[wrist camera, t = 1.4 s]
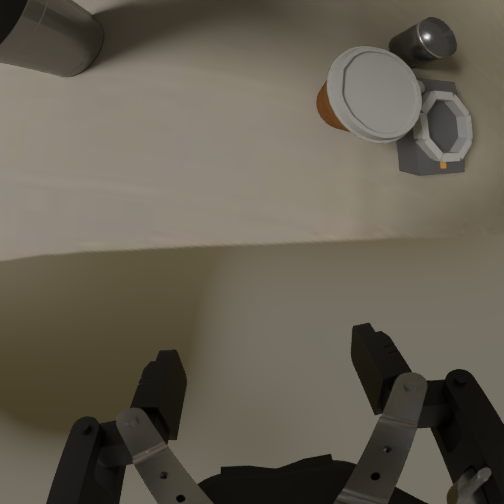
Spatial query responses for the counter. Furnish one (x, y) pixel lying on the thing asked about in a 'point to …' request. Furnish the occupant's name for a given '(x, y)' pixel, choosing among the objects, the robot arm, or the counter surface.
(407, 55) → the thermos
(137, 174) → the counter surface
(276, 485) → the robot arm
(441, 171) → the grey octagonal socket block
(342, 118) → the disposable coffee cup
